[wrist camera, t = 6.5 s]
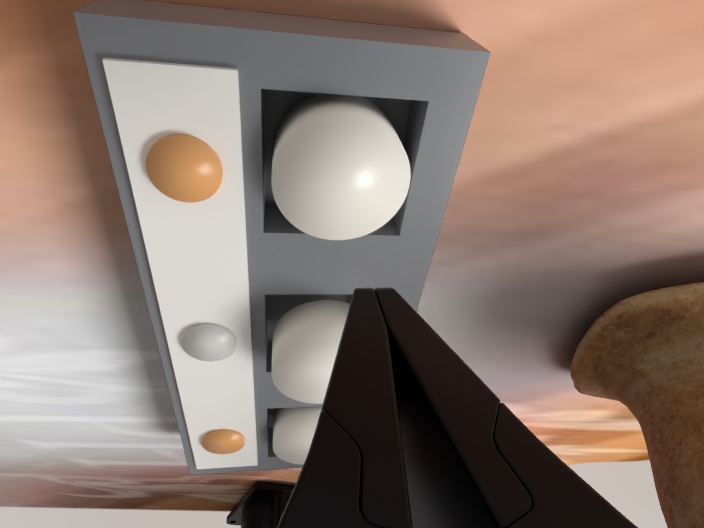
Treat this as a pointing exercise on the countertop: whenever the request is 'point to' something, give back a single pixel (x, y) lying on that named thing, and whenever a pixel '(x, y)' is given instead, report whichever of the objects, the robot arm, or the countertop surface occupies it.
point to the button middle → (307, 349)
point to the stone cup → (656, 386)
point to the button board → (258, 187)
